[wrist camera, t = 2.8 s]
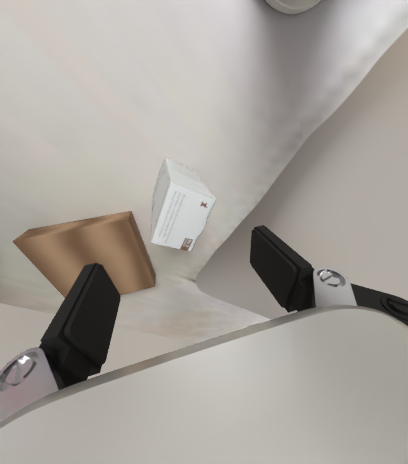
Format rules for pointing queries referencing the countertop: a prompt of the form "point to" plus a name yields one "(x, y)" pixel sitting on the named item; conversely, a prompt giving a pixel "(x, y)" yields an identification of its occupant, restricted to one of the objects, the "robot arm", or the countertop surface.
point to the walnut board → (90, 251)
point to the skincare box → (179, 206)
